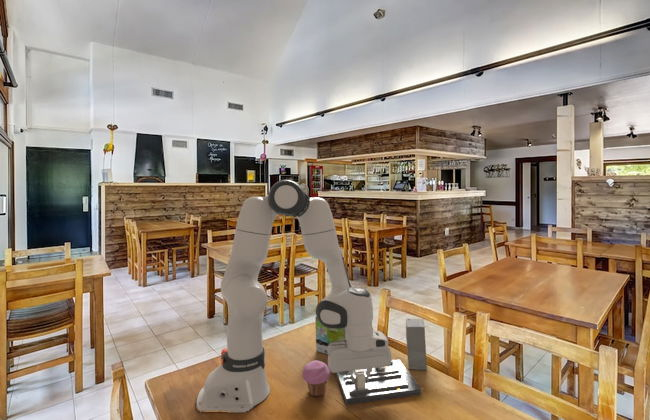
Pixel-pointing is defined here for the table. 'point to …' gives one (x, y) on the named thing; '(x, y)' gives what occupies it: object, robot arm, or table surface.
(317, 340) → the tea box
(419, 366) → the skincare box
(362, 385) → the fader knob
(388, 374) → the console
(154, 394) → the table surface
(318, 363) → the cupcake
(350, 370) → the robot arm
